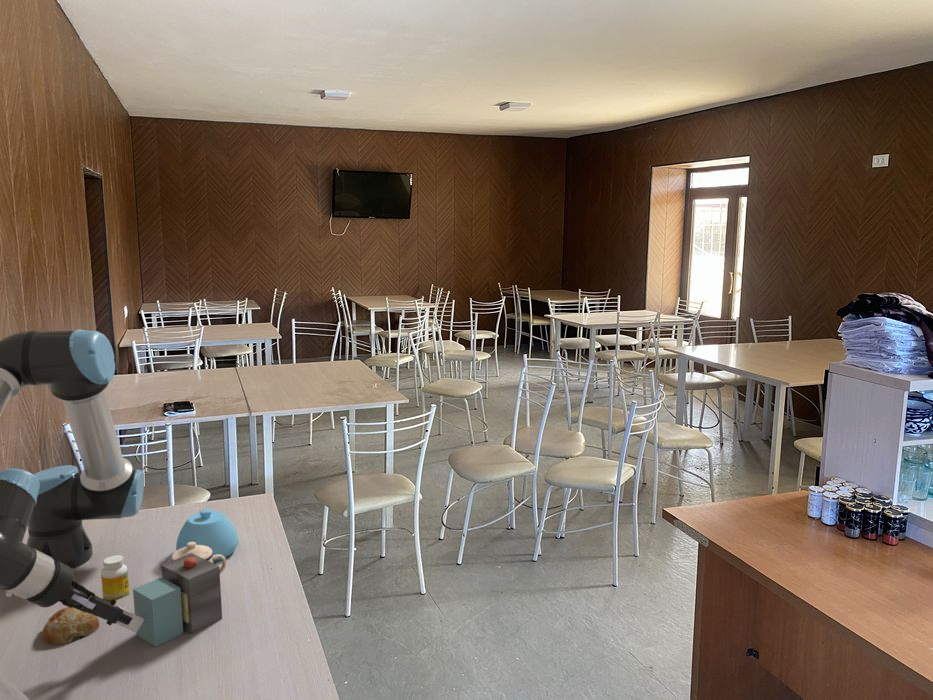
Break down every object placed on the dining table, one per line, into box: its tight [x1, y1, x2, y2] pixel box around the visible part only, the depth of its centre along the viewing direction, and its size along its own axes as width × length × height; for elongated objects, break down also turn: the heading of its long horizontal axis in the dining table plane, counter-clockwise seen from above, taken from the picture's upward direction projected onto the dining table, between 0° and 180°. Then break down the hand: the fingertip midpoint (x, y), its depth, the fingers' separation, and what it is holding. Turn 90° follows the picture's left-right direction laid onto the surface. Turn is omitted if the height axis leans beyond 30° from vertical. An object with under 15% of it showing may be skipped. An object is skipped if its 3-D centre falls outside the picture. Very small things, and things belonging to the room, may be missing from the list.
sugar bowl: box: [175, 508, 239, 563], centre depth 180 cm, size 15×15×12 cm
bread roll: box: [41, 606, 100, 646], centre depth 143 cm, size 10×10×8 cm
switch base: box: [160, 553, 223, 634], centre depth 141 cm, size 12×22×14 cm, turn 144°
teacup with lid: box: [170, 542, 227, 575], centre depth 162 cm, size 12×9×12 cm
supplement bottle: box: [100, 554, 130, 603], centre depth 158 cm, size 5×5×10 cm
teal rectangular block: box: [132, 577, 184, 648], centre depth 141 cm, size 7×6×10 cm
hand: (138, 624), depth 138 cm, fingers closed
